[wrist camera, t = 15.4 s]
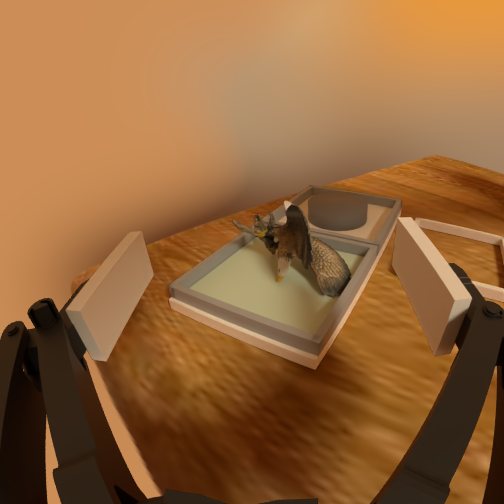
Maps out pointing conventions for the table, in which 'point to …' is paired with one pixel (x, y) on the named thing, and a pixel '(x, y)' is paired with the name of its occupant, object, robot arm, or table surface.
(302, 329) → the tray
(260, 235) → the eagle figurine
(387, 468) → the table surface
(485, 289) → the white square frame
